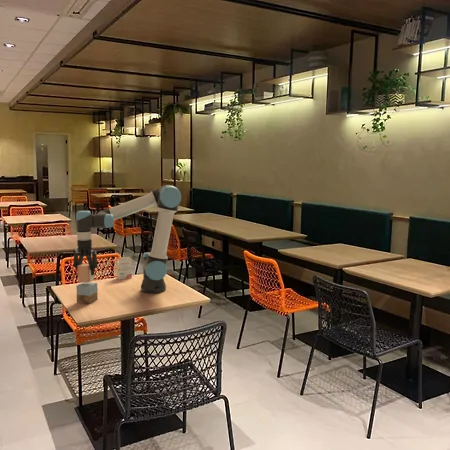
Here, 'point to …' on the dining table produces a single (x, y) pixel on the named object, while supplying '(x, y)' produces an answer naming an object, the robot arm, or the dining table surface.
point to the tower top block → (86, 288)
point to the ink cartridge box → (124, 268)
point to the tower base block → (87, 298)
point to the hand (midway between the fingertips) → (86, 280)
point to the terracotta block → (84, 273)
